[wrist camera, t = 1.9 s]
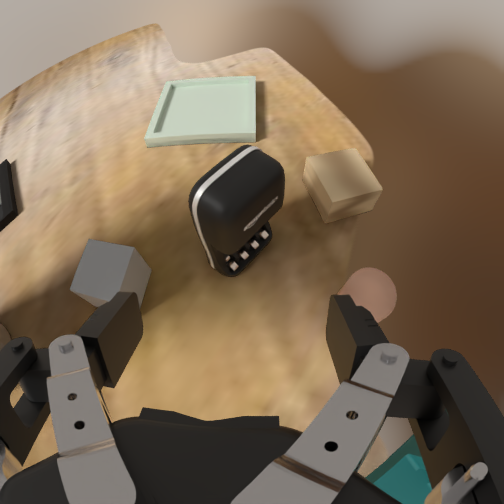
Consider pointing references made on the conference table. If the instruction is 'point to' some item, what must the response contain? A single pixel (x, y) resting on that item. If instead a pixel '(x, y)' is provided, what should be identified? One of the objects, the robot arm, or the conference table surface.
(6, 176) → the vhs tape
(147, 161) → the conference table surface
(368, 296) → the pink glossy rounded part
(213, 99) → the tray
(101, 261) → the grey box
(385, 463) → the bracket
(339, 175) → the oak block
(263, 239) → the battery charger
